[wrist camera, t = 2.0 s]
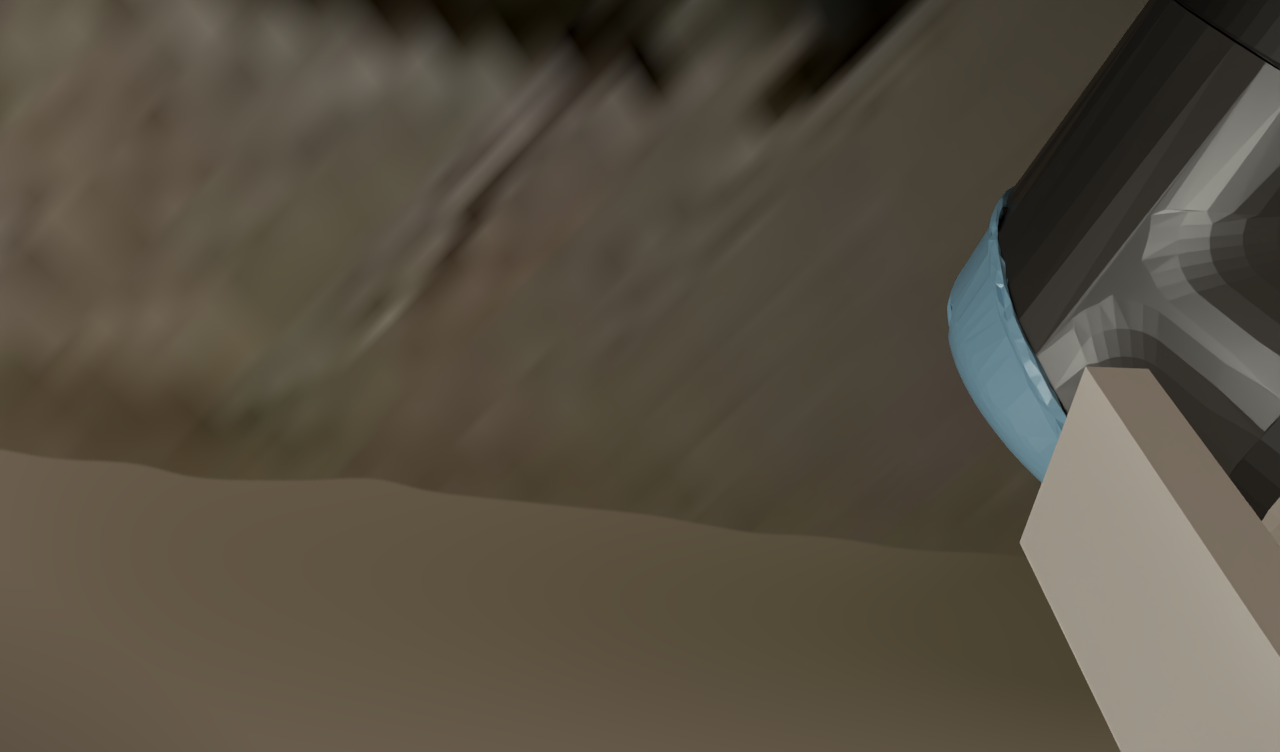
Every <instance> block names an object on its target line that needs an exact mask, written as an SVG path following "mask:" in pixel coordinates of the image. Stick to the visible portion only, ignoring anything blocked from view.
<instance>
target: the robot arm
mask: <svg viewBox="0 0 1280 752" xmlns="http://www.w3.org/2000/svg"><path fill="white" fill-rule="evenodd" d="M947 312H948V322H949V328H950V329H949V335H948V337H949V344H950V349H951V352H952V355H953V358H954V361H955V364H956V367H957V369H958V372H959V374H960V376H961V378H962V380H963V382H964V384H965V386H966V388H967V390H968V392H969V394H970V396H971V398H972V399H973V401H974V402H975V404H976V406H977V407H978V409H979V410H980V412H981V413H982V415H983V416H984V417H985V419H986V420H987V422H988V423H989V424H990V426H991V427H992V429H993V430H994V431H995V432H996V434H997V435H998V436H999V437H1000V439H1001V440H1002V441H1003V442H1004V444H1005V445H1006V446H1007V447H1008V449H1009V450H1010V451H1011V452H1012V453H1013V454H1014V455H1015V456H1016V457H1017V458H1018V459H1019V461H1020V462H1021V463H1022V464H1023V465H1024V466H1025V467H1026V468H1027V469H1028V470H1029V471H1030V472H1031V473H1032V474H1033V475H1034V476H1035V477H1036V478H1037V479H1038V480H1039V481H1040V482H1041V483H1042V484H1041V487H1040V490H1039V492H1038V495H1037V498H1036V500H1035V503H1034V506H1033V508H1032V511H1031V514H1030V516H1029V519H1028V522H1027V524H1026V527H1025V530H1024V532H1023V535H1022V538H1021V540H1020V544H1021V546H1022V548H1023V550H1024V552H1025V555H1026V557H1027V559H1028V561H1029V563H1030V565H1031V567H1032V569H1033V571H1034V573H1035V575H1036V577H1037V579H1038V581H1039V583H1040V586H1041V587H1042V589H1043V592H1044V594H1045V596H1046V598H1047V600H1048V602H1049V604H1050V606H1051V608H1052V610H1053V612H1054V614H1055V617H1056V618H1057V620H1058V623H1059V625H1060V627H1061V629H1062V631H1063V633H1064V635H1065V637H1066V639H1067V641H1068V643H1069V645H1070V648H1071V649H1072V651H1073V654H1074V656H1075V657H1076V660H1077V662H1078V664H1079V666H1080V668H1081V670H1082V672H1083V674H1084V676H1085V679H1086V681H1087V682H1088V685H1089V687H1090V689H1091V691H1092V693H1093V695H1094V697H1095V699H1096V701H1097V703H1098V705H1099V707H1100V709H1101V712H1102V714H1103V716H1104V718H1105V720H1106V722H1107V724H1108V726H1109V728H1110V730H1111V732H1112V734H1113V736H1114V738H1115V740H1116V743H1117V745H1118V747H1119V749H1120V751H1121V752H1280V0H1149V1H1148V2H1147V4H1146V5H1145V7H1144V8H1143V9H1142V11H1141V12H1140V14H1139V15H1138V16H1137V18H1136V19H1135V21H1134V22H1133V23H1132V25H1131V26H1130V27H1129V29H1128V30H1127V32H1126V33H1125V34H1124V36H1123V37H1122V39H1121V40H1120V41H1119V43H1118V44H1117V46H1116V47H1115V48H1114V50H1113V51H1112V52H1111V54H1110V55H1109V57H1108V58H1107V59H1106V61H1105V62H1104V64H1103V65H1102V66H1101V68H1100V69H1099V70H1098V72H1097V73H1096V75H1095V76H1094V77H1093V79H1092V80H1091V82H1090V83H1089V84H1088V86H1087V87H1086V89H1085V90H1084V91H1083V93H1082V94H1081V95H1080V97H1079V98H1078V100H1077V101H1076V102H1075V104H1074V105H1073V107H1072V108H1071V109H1070V111H1069V112H1068V114H1067V115H1066V116H1065V118H1064V119H1063V120H1062V122H1061V123H1060V125H1059V126H1058V127H1057V129H1056V130H1055V132H1054V133H1053V134H1052V136H1051V137H1050V139H1049V140H1048V141H1047V143H1046V144H1045V145H1044V147H1043V148H1042V150H1041V151H1040V152H1039V154H1038V155H1037V157H1036V158H1035V159H1034V161H1033V162H1032V164H1031V165H1030V166H1029V168H1028V169H1027V170H1026V172H1025V173H1024V175H1023V176H1022V177H1021V179H1020V180H1019V182H1018V183H1017V184H1016V185H1015V186H1014V187H1012V188H1011V189H1009V190H1007V191H1006V192H1005V193H1004V194H1003V196H1002V197H1001V198H1000V200H999V201H998V203H997V204H996V206H995V209H994V211H993V214H992V216H991V220H990V226H989V228H988V230H987V232H986V233H985V235H984V236H983V238H982V239H981V241H980V242H979V244H978V246H977V247H976V249H975V250H974V252H973V253H972V255H971V256H970V258H969V260H968V261H967V263H966V264H965V266H964V267H963V269H962V270H961V272H960V274H959V275H958V277H957V279H956V280H955V283H954V285H953V288H952V290H951V293H950V297H949V301H948V306H947Z"/></svg>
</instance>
